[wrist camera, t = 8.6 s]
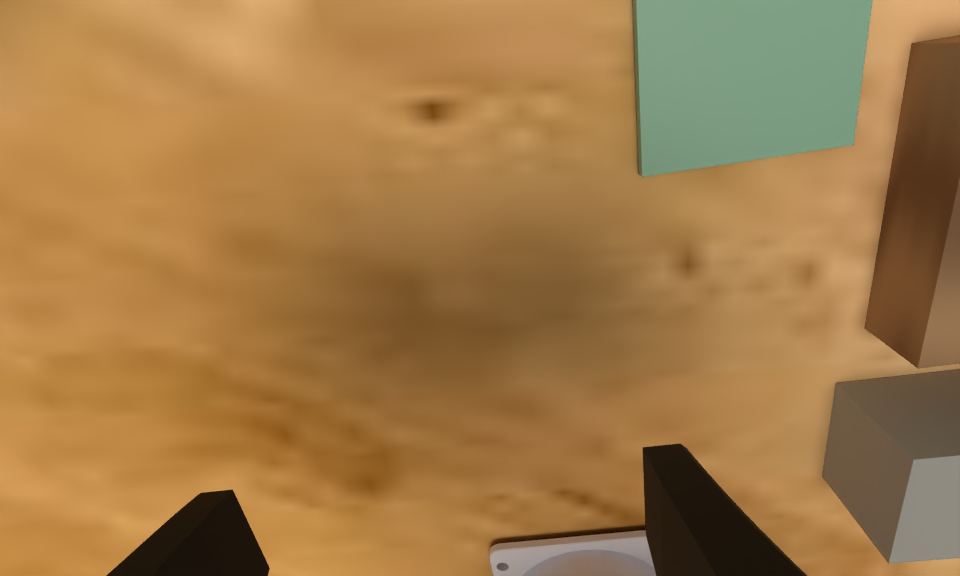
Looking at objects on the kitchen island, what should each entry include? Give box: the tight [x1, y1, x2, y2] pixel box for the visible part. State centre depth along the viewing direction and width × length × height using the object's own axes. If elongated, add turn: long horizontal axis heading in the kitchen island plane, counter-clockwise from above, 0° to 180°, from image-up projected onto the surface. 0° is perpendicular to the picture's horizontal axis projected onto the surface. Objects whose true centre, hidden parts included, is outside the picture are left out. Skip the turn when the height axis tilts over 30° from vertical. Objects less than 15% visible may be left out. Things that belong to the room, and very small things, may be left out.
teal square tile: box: [633, 0, 873, 177], centre depth 14 cm, size 6×6×1 cm
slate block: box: [822, 369, 960, 564], centre depth 18 cm, size 4×4×4 cm
